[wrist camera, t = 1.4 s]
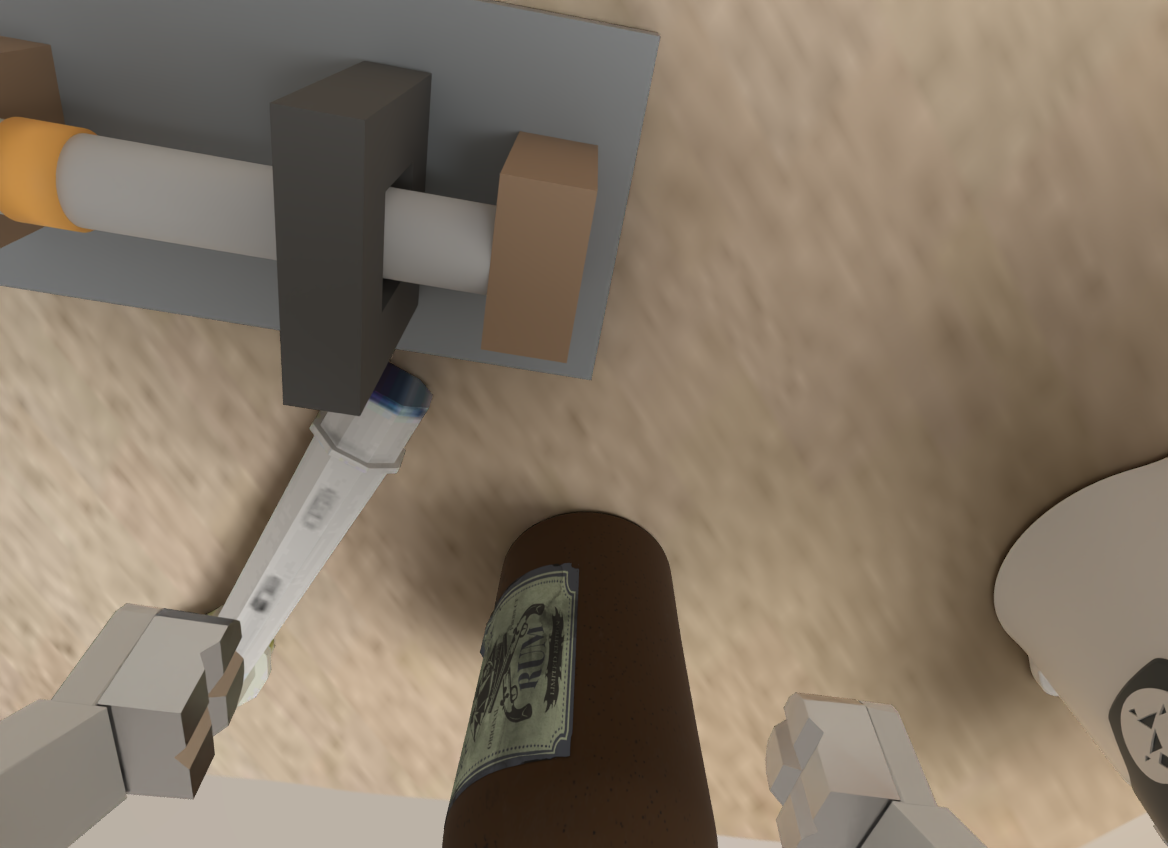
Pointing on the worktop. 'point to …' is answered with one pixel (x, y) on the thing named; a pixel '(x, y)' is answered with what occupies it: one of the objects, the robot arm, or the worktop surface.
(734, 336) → the worktop surface
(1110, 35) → the worktop surface
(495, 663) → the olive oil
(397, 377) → the electric toothbrush
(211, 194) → the pipe stand
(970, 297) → the worktop surface
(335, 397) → the collar
